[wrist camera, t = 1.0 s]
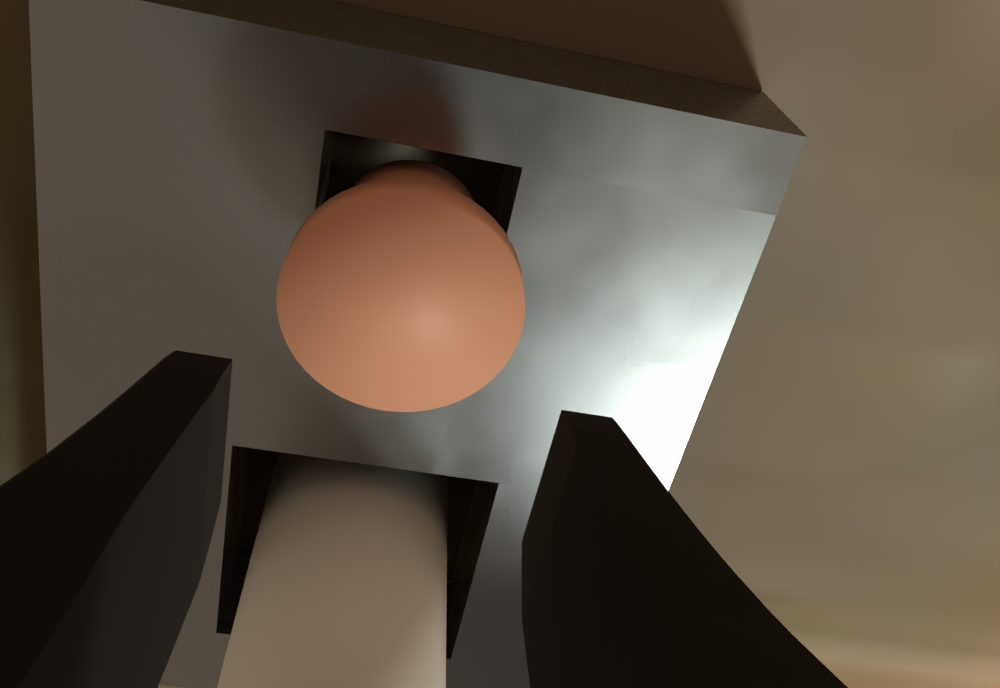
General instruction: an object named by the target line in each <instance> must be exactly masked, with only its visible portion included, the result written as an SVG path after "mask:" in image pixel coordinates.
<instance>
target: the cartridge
mask: <svg viewBox="0 0 1000 688" xmlns="http://www.w3.org/2000/svg"><path fill="white" fill-rule="evenodd" d="M447 509H448V477H447V476H445V475H438V474H431V473H424V472H417V471H410V470H403V469H396V468H388V467H381V466H374V465H367V464H360V463H353V462H346V461H339V460H332V459H325V458H318V457H311V456H303V455H296V454H289V453H282V452H280V453H279V455H278V458H277V460H276V463H275V467H274V470H273V474H272V478H271V482H270V486H269V490H268V493H267V497H266V501H265V505H264V509H263V513H262V516H261V520H260V524H259V528H258V532H257V536H256V539H255V543H254V547H253V551H252V555H251V559H250V562H249V566H248V570H247V574H246V578H245V582H244V585H243V589H242V593H241V597H240V601H239V605H238V608H237V612H236V616H235V620H234V624H233V628H232V631H231V635H230V639H229V643H228V647H227V651H226V654H225V658H224V662H223V666H222V670H221V674H220V677H219V681H218V685H217V688H446V614H447Z"/></svg>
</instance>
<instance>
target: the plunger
mask: <svg viewBox="0 0 1000 688" xmlns="http://www.w3.org/2000/svg"><path fill="white" fill-rule="evenodd" d="M276 306H277V314H278V320H279V324H280V328H281V331H282V334H283V336H284V339H285V341H286V343H287V345H288V347H289V349H290V351H291V352H292V354H293V355H294V357H295V359H296V360H297V361H298V362H299V364H300V365H301V366H302V367H303V369H304V370H305V371H306V372H307V373H308V374H309V375H310V376H311V377H313V378H314V379H315V380H316V381H317V382H318V383H320V384H321V385H322V386H324V387H325V388H326V389H328V390H330V391H331V392H333V393H335V394H336V395H338V396H340V397H342V398H344V399H346V400H349V401H351V402H353V403H356V404H359V405H362V406H365V407H368V408H373V409H378V410H383V411H393V412H417V411H426V410H432V409H436V408H440V407H444V406H447V405H450V404H453V403H456V402H458V401H460V400H462V399H464V398H466V397H468V396H470V395H472V394H474V393H475V392H477V391H478V390H480V389H481V388H483V387H484V386H485V385H486V384H488V383H489V382H490V381H491V380H492V379H494V378H495V377H496V375H497V374H498V373H499V372H500V371H501V370H502V369H503V368H504V366H505V365H506V364H507V362H508V361H509V359H510V358H511V356H512V354H513V352H514V351H515V349H516V347H517V345H518V342H519V339H520V336H521V333H522V330H523V324H524V319H525V296H524V288H523V280H522V273H521V268H520V264H519V260H518V257H517V254H516V252H515V250H514V247H513V245H512V243H511V241H510V240H509V238H508V236H507V235H506V233H505V231H504V230H503V229H502V227H501V226H500V225H499V224H498V223H497V221H496V220H495V219H494V218H493V217H492V216H491V215H490V214H489V213H488V212H487V211H486V210H485V209H483V208H482V207H481V206H479V205H478V204H477V203H475V202H474V200H473V197H472V196H471V194H470V193H469V191H468V190H467V188H466V187H465V186H464V185H463V183H462V182H461V181H459V180H458V179H457V178H456V177H455V176H454V175H452V174H451V173H450V172H448V171H446V170H444V169H443V168H441V167H439V166H436V165H433V164H431V163H427V162H423V161H416V160H400V161H393V162H389V163H385V164H382V165H380V166H377V167H375V168H374V169H372V170H370V171H368V172H367V173H366V174H364V175H363V176H362V177H360V178H359V179H358V180H357V182H356V183H355V184H354V185H353V186H352V188H350V189H347V190H345V191H342V192H341V193H339V194H337V195H335V196H334V197H332V198H330V199H328V200H327V201H326V202H325V203H323V204H322V205H321V206H319V207H318V208H317V209H316V210H315V211H314V212H313V213H312V214H311V215H310V216H309V217H308V218H307V219H306V220H305V221H304V223H303V224H302V225H301V227H300V228H299V230H298V231H297V233H296V235H295V237H294V238H293V240H292V242H291V244H290V247H289V250H288V253H287V256H286V258H285V261H284V264H283V267H282V270H281V273H280V276H279V281H278V286H277V299H276Z"/></svg>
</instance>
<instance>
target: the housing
mask: <svg viewBox="0 0 1000 688" xmlns="http://www.w3.org/2000/svg"><path fill="white" fill-rule="evenodd" d="M29 23H30V48H31V73H32V98H33V123H34V148H35V173H36V198H37V223H38V248H39V273H40V298H41V323H42V347H43V372H44V397H45V422H46V447H47V453H48V452H49V451H51V450H52V449H53V448H55V447H56V446H57V445H58V444H60V443H61V442H62V441H64V440H65V439H66V438H67V437H69V436H70V435H71V434H73V433H74V432H75V431H76V430H78V429H79V428H80V427H82V426H83V425H84V424H86V423H87V422H88V421H89V420H91V419H92V418H93V417H95V416H96V415H97V414H98V413H100V412H101V411H102V410H103V409H104V408H106V407H107V406H108V405H109V404H110V403H112V402H113V401H114V400H115V399H116V398H118V397H119V396H120V395H121V394H123V393H124V392H125V391H126V390H127V389H128V388H130V387H131V386H132V385H133V384H134V383H135V382H137V381H138V380H139V379H140V378H141V377H142V376H144V375H145V374H146V373H147V372H148V371H149V370H151V369H152V368H153V367H154V366H155V365H156V364H157V363H159V362H160V361H161V360H162V359H163V358H164V357H166V356H168V355H169V354H171V353H172V352H174V351H175V350H177V351H184V352H190V353H197V354H203V355H210V356H216V357H223V358H229V359H233V360H232V372H231V385H230V397H229V409H228V422H227V434H226V446H225V459H224V471H223V483H222V496H221V504H220V507H219V511H218V515H217V519H216V523H215V527H214V530H213V534H212V538H211V542H210V546H209V549H208V553H207V557H206V560H205V564H204V568H203V571H202V575H201V579H200V582H199V585H198V587H197V590H196V592H195V595H194V598H193V600H192V603H191V605H190V608H189V610H188V613H187V615H186V618H185V620H184V623H183V625H182V628H181V630H180V633H179V636H178V638H177V641H176V643H175V646H174V648H173V651H172V653H171V656H170V658H169V661H168V663H167V666H166V668H165V671H164V673H163V676H162V678H161V681H160V683H159V685H167V686H176V687H186V688H217V685H218V681H219V677H220V674H221V670H222V666H223V662H224V658H225V654H226V651H227V647H228V643H229V639H230V635H231V631H232V628H233V624H234V620H235V616H236V612H237V608H238V605H239V601H240V597H241V593H242V589H243V585H244V582H245V578H246V574H247V570H248V566H249V562H250V559H251V555H252V554H251V553H243V552H239V544H240V534H241V524H242V513H243V503H244V493H245V483H246V472H247V462H248V452H249V448H254V449H261V450H268V451H275V452H282V453H289V454H296V455H303V456H311V457H318V458H325V459H332V460H339V461H346V462H353V463H360V464H367V465H374V466H381V467H388V468H396V469H403V470H410V471H417V472H424V473H431V474H438V475H445V476H452V477H459V478H466V479H474V480H476V484H475V488H474V492H473V496H472V499H471V503H470V507H469V511H468V515H467V519H466V523H465V527H464V531H463V534H462V538H461V542H460V546H459V550H458V554H457V558H456V562H455V566H454V569H453V573H452V577H451V578H447V614H446V688H530V682H529V674H528V666H527V658H526V650H525V642H524V634H523V625H522V587H521V581H522V539H523V536H524V532H525V529H526V526H527V523H528V519H529V516H530V513H531V509H532V506H533V503H534V499H535V496H536V493H537V489H538V486H539V483H540V479H541V476H542V473H543V469H544V466H545V463H546V459H547V456H548V453H549V450H550V446H551V443H552V440H553V436H554V433H555V430H556V426H557V423H558V420H559V416H560V413H561V410H567V411H573V412H580V413H586V414H593V415H599V416H606V417H612V418H613V419H614V420H615V421H616V422H617V424H618V425H619V426H620V427H621V429H622V430H623V431H624V433H625V434H626V435H627V437H628V438H629V439H630V441H631V442H632V443H633V445H634V446H635V447H636V449H637V450H638V451H639V453H640V454H641V455H642V457H643V458H644V459H645V461H646V462H647V464H648V465H649V466H650V468H651V469H652V470H653V472H654V473H655V474H656V476H657V477H658V478H659V480H660V481H661V482H662V483H663V485H664V486H665V487H666V489H667V490H669V487H670V485H671V482H672V480H673V477H674V475H675V472H676V470H677V467H678V464H679V462H680V459H681V457H682V454H683V452H684V449H685V447H686V444H687V442H688V439H689V437H690V434H691V431H692V429H693V426H694V424H695V421H696V419H697V416H698V414H699V411H700V409H701V406H702V403H703V401H704V398H705V396H706V393H707V391H708V388H709V386H710V383H711V381H712V378H713V375H714V373H715V370H716V368H717V365H718V363H719V360H720V358H721V355H722V353H723V350H724V347H725V345H726V342H727V340H728V337H729V335H730V332H731V330H732V327H733V325H734V322H735V319H736V317H737V314H738V312H739V309H740V307H741V304H742V302H743V299H744V297H745V294H746V291H747V289H748V286H749V284H750V281H751V279H752V276H753V274H754V271H755V269H756V266H757V263H758V261H759V258H760V256H761V253H762V251H763V248H764V246H765V243H766V241H767V238H768V236H769V233H770V230H771V228H772V225H773V223H774V220H775V218H776V215H777V213H778V210H779V208H780V205H781V202H782V200H783V197H784V195H785V192H786V190H787V187H788V185H789V182H790V180H791V177H792V174H793V172H794V169H795V167H796V164H797V162H798V159H799V157H800V154H801V152H802V149H803V146H804V144H805V141H806V139H807V136H806V135H805V134H804V133H803V132H802V131H801V130H800V129H799V128H798V127H797V126H796V125H795V124H794V123H793V122H792V121H791V120H790V119H789V118H788V117H787V116H786V115H785V114H784V113H783V112H782V111H781V110H780V109H779V108H778V107H777V106H776V105H775V104H774V103H773V102H772V101H771V100H770V99H769V97H768V96H767V95H766V94H765V93H764V92H759V91H754V90H749V89H745V88H740V87H735V86H730V85H726V84H721V83H716V82H712V81H707V80H702V79H697V78H693V77H688V76H683V75H678V74H674V73H669V72H664V71H659V70H655V69H650V68H645V67H640V66H636V65H631V64H626V63H621V62H617V61H612V60H607V59H603V58H598V57H593V56H588V55H584V54H579V53H574V52H569V51H565V50H560V49H555V48H550V47H546V46H541V45H536V44H531V43H527V42H522V41H517V40H512V39H508V38H503V37H498V36H494V35H489V34H484V33H479V32H475V31H470V30H465V29H460V28H456V27H451V26H446V25H441V24H437V23H432V22H427V21H422V20H418V19H413V18H408V17H403V16H399V15H394V14H389V13H384V12H380V11H375V10H370V9H366V8H361V7H356V6H351V5H347V4H342V3H337V2H332V1H328V0H29ZM335 132H340V133H345V134H351V135H356V136H361V137H366V138H372V139H377V140H382V141H387V142H393V143H398V144H403V145H408V146H413V147H419V148H424V149H429V150H434V151H440V152H445V153H450V154H455V155H461V156H466V157H471V158H476V159H481V160H487V161H492V162H497V163H502V164H504V167H503V172H502V176H501V180H500V185H499V189H498V194H497V198H496V203H495V207H494V211H493V216H492V217H493V218H494V219H495V220H496V221H497V223H498V224H499V225H500V226H501V227H502V229H503V230H504V231H505V233H506V235H507V236H508V238H509V240H510V241H511V243H512V245H513V247H514V250H515V252H516V254H517V257H518V260H519V264H520V268H521V273H522V280H523V288H524V296H525V319H524V324H523V330H522V333H521V336H520V339H519V342H518V345H517V347H516V349H515V351H514V352H513V354H512V356H511V358H510V359H509V361H508V362H507V364H506V365H505V366H504V368H503V369H502V370H501V371H500V372H499V373H498V374H497V375H496V377H495V378H494V379H492V380H491V381H490V382H489V383H488V384H486V385H485V386H484V387H483V388H481V389H480V390H478V391H477V392H475V393H474V394H472V395H470V396H468V397H466V398H464V399H462V400H460V401H458V402H456V403H453V404H450V405H447V406H444V407H440V408H436V409H432V410H426V411H417V412H393V411H383V410H378V409H373V408H368V407H365V406H362V405H359V404H356V403H353V402H351V401H349V400H346V399H344V398H342V397H340V396H338V395H336V394H335V393H333V392H331V391H330V390H328V389H326V388H325V387H324V386H322V385H321V384H320V383H318V382H317V381H316V380H315V379H314V378H313V377H311V376H310V375H309V374H308V373H307V372H306V371H305V370H304V369H303V367H302V366H301V365H300V364H299V362H298V361H297V360H296V359H295V357H294V355H293V354H292V352H291V351H290V349H289V347H288V345H287V343H286V341H285V339H284V336H283V334H282V331H281V328H280V324H279V320H278V314H277V306H276V299H277V286H278V281H279V276H280V273H281V270H282V267H283V264H284V261H285V258H286V256H287V253H288V250H289V247H290V244H291V242H292V240H293V238H294V237H295V235H296V233H297V231H298V230H299V228H300V227H301V225H302V224H303V223H304V221H305V220H306V219H307V218H308V217H309V216H310V215H311V214H312V213H313V212H314V211H315V210H316V209H317V208H318V207H319V206H321V205H322V204H323V203H325V202H326V200H327V192H328V184H329V177H330V169H331V161H332V153H333V145H334V138H335Z"/></svg>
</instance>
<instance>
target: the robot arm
mask: <svg viewBox="0 0 1000 688" xmlns="http://www.w3.org/2000/svg"><path fill="white" fill-rule="evenodd" d="M232 360H233V359H229V358H223V357H216V356H210V355H203V354H197V353H190V352H184V351H177V350H175V351H174V352H172V353H171V354H169V355H168V356H166V357H164V358H163V359H162V360H161V361H160V362H159V363H157V364H156V365H155V366H154V367H153V368H152V369H151V370H149V371H148V372H147V373H146V374H145V375H144V376H142V377H141V378H140V379H139V380H138V381H137V382H135V383H134V384H133V385H132V386H131V387H130V388H128V389H127V390H126V391H125V392H124V393H123V394H121V395H120V396H119V397H118V398H116V399H115V400H114V401H113V402H112V403H110V404H109V405H108V406H107V407H106V408H104V409H103V410H102V411H101V412H100V413H98V414H97V415H96V416H95V417H93V418H92V419H91V420H89V421H88V422H87V423H86V424H84V425H83V426H82V427H80V428H79V429H78V430H76V431H75V432H74V433H73V434H71V435H70V436H69V437H67V438H66V439H65V440H64V441H62V442H61V443H60V444H58V445H57V446H56V447H55V448H53V449H52V450H51V451H49V452H48V453H47V454H45V455H44V456H43V457H41V458H40V459H39V460H37V461H36V462H34V463H33V464H31V465H30V466H29V467H27V468H26V469H24V470H23V471H21V472H20V473H18V474H17V475H16V476H14V477H13V478H11V479H10V480H8V481H7V482H5V483H4V484H3V485H1V486H0V688H158V686H159V683H160V681H161V678H162V676H163V673H164V671H165V668H166V666H167V663H168V661H169V658H170V656H171V653H172V651H173V648H174V646H175V643H176V641H177V638H178V636H179V633H180V630H181V628H182V625H183V623H184V620H185V618H186V615H187V613H188V610H189V608H190V605H191V603H192V600H193V598H194V595H195V592H196V590H197V587H198V585H199V582H200V579H201V575H202V571H203V568H204V564H205V560H206V557H207V553H208V549H209V546H210V542H211V538H212V534H213V530H214V527H215V523H216V519H217V515H218V511H219V507H220V504H221V496H222V483H223V471H224V459H225V446H226V434H227V422H228V409H229V397H230V385H231V372H232ZM521 587H522V625H523V634H524V642H525V650H526V658H527V666H528V674H529V682H530V688H848V687H847V686H846V685H844V684H843V683H842V682H841V681H840V680H839V679H838V678H837V677H836V676H835V675H834V674H833V673H832V672H831V671H830V670H829V669H827V668H826V667H825V666H824V665H823V664H822V663H821V662H820V661H819V660H818V659H817V658H816V657H815V656H814V655H813V654H812V653H811V652H810V651H809V650H808V649H807V648H806V647H805V646H803V645H802V644H801V643H800V642H799V641H798V640H797V639H796V638H795V637H794V636H793V635H792V634H791V633H790V632H789V631H788V630H787V629H786V628H785V627H784V626H783V625H782V624H781V623H780V622H779V621H778V620H777V619H776V618H775V616H774V615H773V614H772V613H771V612H770V611H769V610H768V609H767V608H766V607H765V606H764V605H763V604H762V602H761V601H760V600H759V599H758V598H757V597H756V596H755V595H754V594H753V592H752V591H751V590H750V589H749V588H748V587H747V586H746V585H745V584H744V582H743V581H742V580H741V579H740V578H739V577H738V576H737V575H736V574H735V573H734V571H733V570H732V569H731V568H730V567H729V566H728V565H727V563H726V562H725V561H724V560H723V559H722V557H721V556H720V555H719V554H718V553H717V552H716V550H715V549H714V548H713V547H712V546H711V544H710V543H709V542H708V541H707V540H706V538H705V537H704V536H703V535H702V533H701V532H700V531H699V530H698V528H697V527H696V526H695V525H694V523H693V522H692V521H691V520H690V518H689V517H688V516H687V515H686V513H685V512H684V511H683V510H682V508H681V507H680V506H679V504H678V503H677V502H676V501H675V499H674V498H673V497H672V495H671V494H670V493H669V491H668V490H667V489H666V487H665V486H664V485H663V483H662V482H661V481H660V480H659V478H658V477H657V476H656V474H655V473H654V472H653V470H652V469H651V468H650V466H649V465H648V464H647V462H646V461H645V459H644V458H643V457H642V455H641V454H640V453H639V451H638V450H637V449H636V447H635V446H634V445H633V443H632V442H631V441H630V439H629V438H628V437H627V435H626V434H625V433H624V431H623V430H622V429H621V427H620V426H619V425H618V424H617V422H616V421H615V420H614V419H613V418H612V417H606V416H599V415H593V414H586V413H580V412H573V411H567V410H561V413H560V416H559V420H558V423H557V426H556V430H555V433H554V436H553V440H552V443H551V446H550V450H549V453H548V456H547V459H546V463H545V466H544V469H543V473H542V476H541V479H540V483H539V486H538V489H537V493H536V496H535V499H534V503H533V506H532V509H531V513H530V516H529V519H528V523H527V526H526V529H525V532H524V536H523V539H522V581H521Z"/></svg>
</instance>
